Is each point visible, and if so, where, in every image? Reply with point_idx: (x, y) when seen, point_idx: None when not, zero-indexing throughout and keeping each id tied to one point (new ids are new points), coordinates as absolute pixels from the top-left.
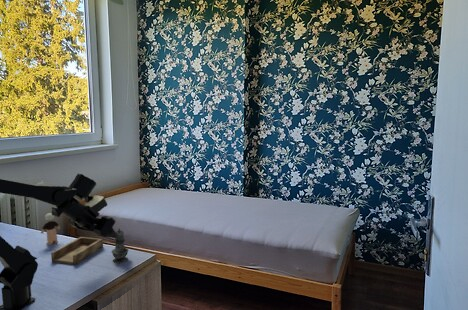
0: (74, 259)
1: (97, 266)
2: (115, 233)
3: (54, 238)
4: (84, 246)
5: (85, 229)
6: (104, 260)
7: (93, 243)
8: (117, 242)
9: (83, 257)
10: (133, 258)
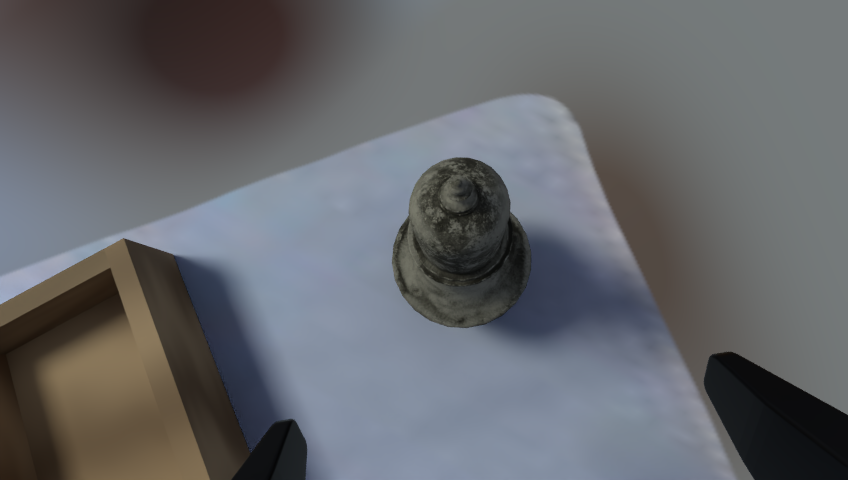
0: None
1: (439, 447)
2: (800, 397)
3: None
4: (68, 363)
5: None
6: (381, 356)
7: (143, 340)
8: (491, 274)
9: None
10: None
